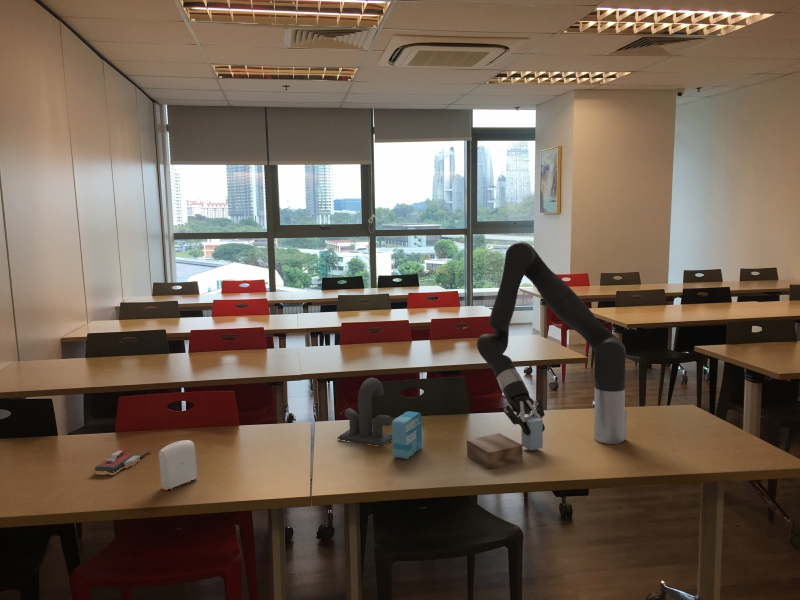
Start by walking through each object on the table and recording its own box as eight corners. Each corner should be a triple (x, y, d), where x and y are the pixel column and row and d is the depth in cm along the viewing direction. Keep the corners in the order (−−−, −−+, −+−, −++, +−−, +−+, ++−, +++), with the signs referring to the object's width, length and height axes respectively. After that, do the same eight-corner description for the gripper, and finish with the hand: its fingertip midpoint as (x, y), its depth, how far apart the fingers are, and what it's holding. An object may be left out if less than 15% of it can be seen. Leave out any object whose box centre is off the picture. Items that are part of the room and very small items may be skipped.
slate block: (533, 443, 197) (533, 415, 196) (542, 447, 193) (542, 419, 192) (521, 445, 195) (521, 418, 194) (530, 450, 191) (530, 422, 190)
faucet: (405, 431, 214) (403, 375, 212) (385, 447, 200) (383, 387, 198) (359, 425, 222) (357, 371, 219) (336, 440, 208) (334, 382, 205)
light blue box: (405, 461, 188) (404, 422, 187) (392, 458, 190) (391, 421, 189) (422, 447, 199) (421, 411, 197) (409, 445, 201) (408, 409, 200)
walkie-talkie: (119, 478, 183) (153, 453, 202) (117, 464, 182) (152, 440, 202) (91, 478, 184) (128, 452, 203) (89, 463, 183) (126, 439, 203)
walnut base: (499, 448, 196) (499, 433, 196) (522, 461, 185) (522, 445, 185) (467, 455, 191) (466, 439, 191) (488, 469, 180) (488, 452, 180)
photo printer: (166, 492, 171) (163, 449, 170) (158, 488, 174) (155, 446, 172) (200, 480, 179) (196, 438, 177) (191, 476, 182) (188, 435, 180)
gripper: (498, 383, 195) (522, 431, 186) (535, 376, 201) (560, 423, 192) (489, 395, 201) (511, 442, 191) (525, 388, 207) (549, 434, 197)
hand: (535, 432), depth 192 cm, fingers closed on slate block, 4 cm apart
